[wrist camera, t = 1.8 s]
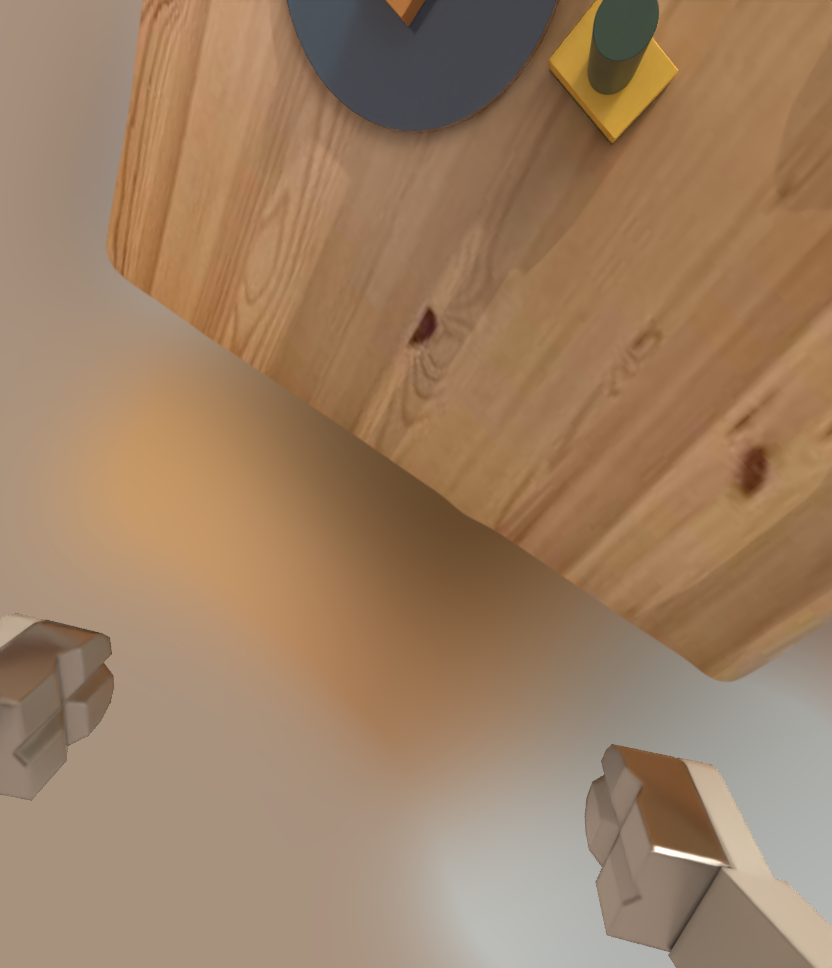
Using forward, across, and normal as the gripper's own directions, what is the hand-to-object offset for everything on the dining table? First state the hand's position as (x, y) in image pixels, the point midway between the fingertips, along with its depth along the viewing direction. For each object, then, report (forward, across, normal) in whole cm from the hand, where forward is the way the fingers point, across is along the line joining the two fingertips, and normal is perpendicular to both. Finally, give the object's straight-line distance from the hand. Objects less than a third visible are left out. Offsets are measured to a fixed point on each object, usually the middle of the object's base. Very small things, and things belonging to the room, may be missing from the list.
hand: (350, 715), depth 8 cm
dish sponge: (+40, -7, -23) cm, 46 cm away
